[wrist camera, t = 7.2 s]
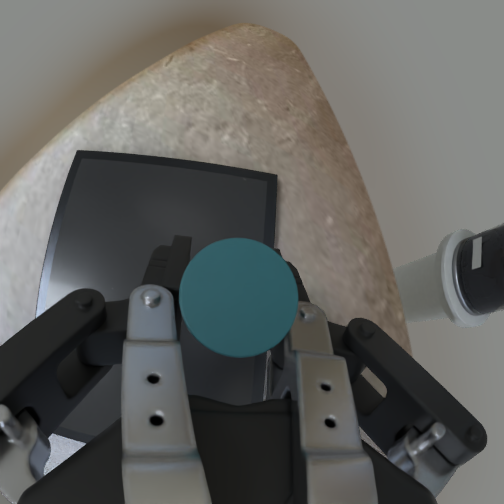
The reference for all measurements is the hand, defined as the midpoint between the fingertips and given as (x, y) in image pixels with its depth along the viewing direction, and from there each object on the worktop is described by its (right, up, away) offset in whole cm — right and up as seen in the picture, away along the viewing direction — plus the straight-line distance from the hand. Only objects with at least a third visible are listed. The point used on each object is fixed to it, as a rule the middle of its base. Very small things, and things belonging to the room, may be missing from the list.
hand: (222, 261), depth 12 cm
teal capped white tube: (-2, -4, +6) cm, 7 cm away
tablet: (-6, -3, +6) cm, 9 cm away
